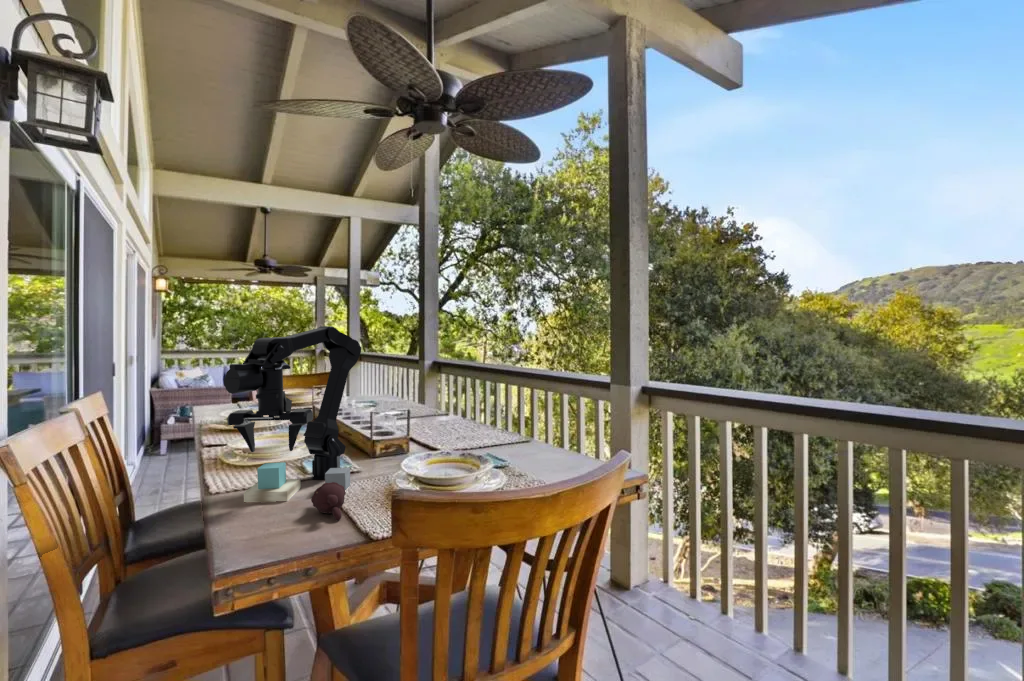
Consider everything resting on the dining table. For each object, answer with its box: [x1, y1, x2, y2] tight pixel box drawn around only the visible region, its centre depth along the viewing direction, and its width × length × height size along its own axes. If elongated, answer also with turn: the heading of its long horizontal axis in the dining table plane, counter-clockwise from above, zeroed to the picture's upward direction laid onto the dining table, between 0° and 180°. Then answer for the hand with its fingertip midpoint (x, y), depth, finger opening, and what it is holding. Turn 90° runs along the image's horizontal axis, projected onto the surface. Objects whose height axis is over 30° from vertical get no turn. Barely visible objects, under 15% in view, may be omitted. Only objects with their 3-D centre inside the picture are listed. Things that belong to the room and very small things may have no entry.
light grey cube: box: [324, 467, 351, 490], centre depth 133 cm, size 5×5×5 cm
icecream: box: [310, 482, 347, 522], centre depth 117 cm, size 7×7×15 cm
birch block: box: [243, 478, 301, 503], centre depth 129 cm, size 10×10×3 cm
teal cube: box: [257, 461, 287, 489], centre depth 129 cm, size 5×5×5 cm
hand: (272, 451), depth 129 cm, fingers open, 9 cm apart
